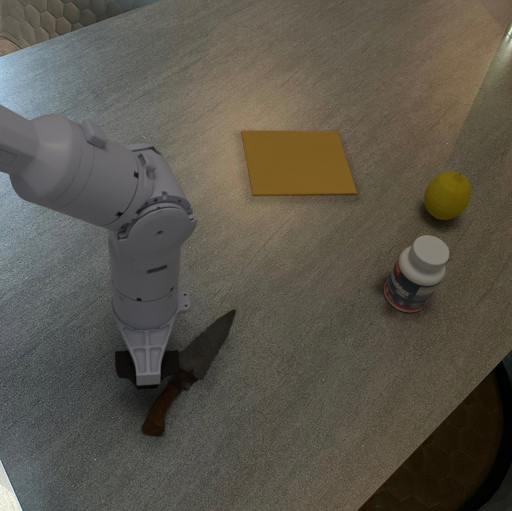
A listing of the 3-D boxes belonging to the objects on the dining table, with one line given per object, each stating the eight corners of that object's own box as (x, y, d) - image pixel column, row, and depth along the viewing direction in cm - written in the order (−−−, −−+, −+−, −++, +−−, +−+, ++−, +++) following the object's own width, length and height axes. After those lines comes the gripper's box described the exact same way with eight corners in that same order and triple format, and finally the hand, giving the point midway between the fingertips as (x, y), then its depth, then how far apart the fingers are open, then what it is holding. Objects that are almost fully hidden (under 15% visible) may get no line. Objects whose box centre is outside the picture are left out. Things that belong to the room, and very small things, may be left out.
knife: (158, 438, 58) (122, 397, 58) (151, 444, 59) (116, 403, 60) (267, 335, 68) (236, 301, 68) (259, 342, 70) (229, 308, 70)
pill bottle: (375, 281, 74) (398, 234, 67) (412, 272, 76) (439, 225, 69) (396, 318, 72) (422, 273, 65) (434, 308, 73) (464, 262, 66)
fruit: (431, 194, 85) (454, 150, 78) (464, 219, 83) (490, 176, 76) (407, 213, 82) (428, 169, 76) (441, 239, 80) (466, 196, 74)
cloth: (252, 195, 80) (253, 194, 80) (241, 131, 87) (241, 130, 87) (356, 194, 83) (357, 193, 83) (337, 132, 90) (337, 131, 90)
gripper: (199, 346, 50) (190, 415, 60) (186, 208, 58) (180, 290, 69) (108, 351, 48) (115, 421, 59) (108, 209, 57) (114, 293, 67)
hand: (145, 351), depth 64 cm, fingers open, 7 cm apart
